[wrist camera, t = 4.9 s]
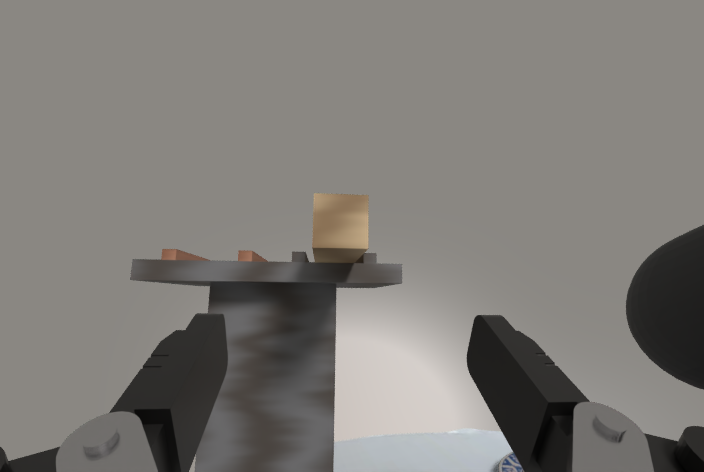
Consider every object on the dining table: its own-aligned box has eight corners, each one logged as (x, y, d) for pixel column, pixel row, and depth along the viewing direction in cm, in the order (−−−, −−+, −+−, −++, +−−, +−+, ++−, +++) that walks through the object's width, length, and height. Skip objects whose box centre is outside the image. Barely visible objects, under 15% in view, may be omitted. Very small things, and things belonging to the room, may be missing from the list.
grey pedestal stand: (375, 590, 34) (373, 268, 40) (410, 785, 21) (401, 253, 26) (170, 603, 33) (200, 265, 38) (61, 828, 19) (134, 248, 25)
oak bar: (342, 274, 40) (342, 249, 40) (368, 248, 18) (368, 195, 19) (317, 274, 39) (317, 249, 40) (312, 247, 18) (314, 193, 18)
